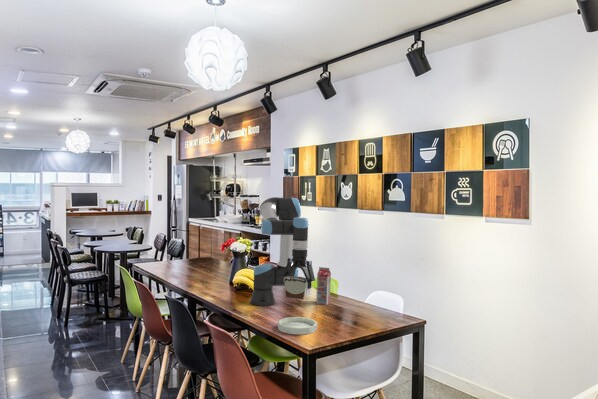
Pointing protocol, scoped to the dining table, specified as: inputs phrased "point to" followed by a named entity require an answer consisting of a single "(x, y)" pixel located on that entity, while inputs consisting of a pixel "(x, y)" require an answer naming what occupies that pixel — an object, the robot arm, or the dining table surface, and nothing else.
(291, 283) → the food container
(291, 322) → the round tray
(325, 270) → the juice carton
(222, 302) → the dining table surface
